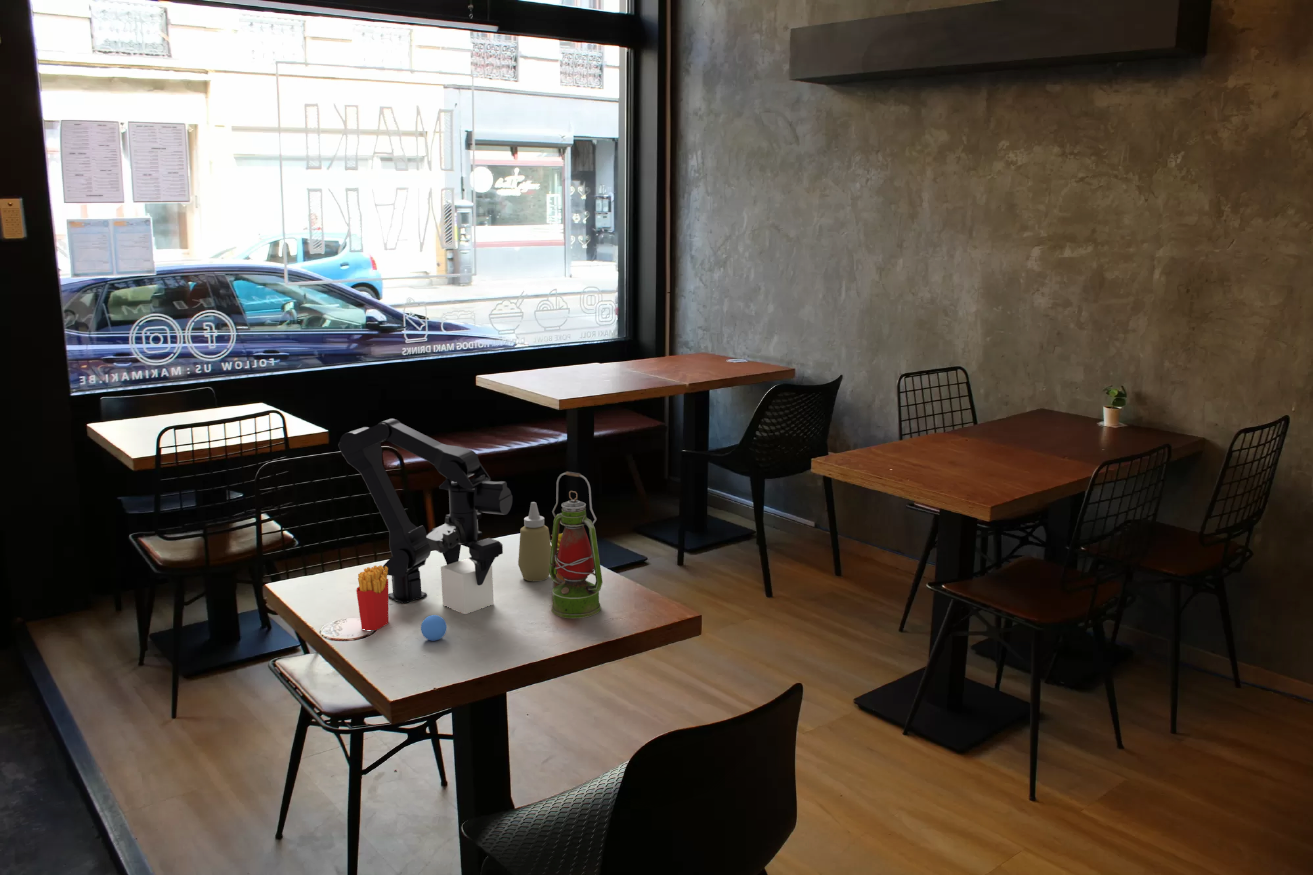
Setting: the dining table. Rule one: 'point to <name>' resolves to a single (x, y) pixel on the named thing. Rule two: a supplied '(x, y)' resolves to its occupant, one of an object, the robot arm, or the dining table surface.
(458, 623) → the dining table surface
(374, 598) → the french fries
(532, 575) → the squeeze bottle
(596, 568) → the lantern
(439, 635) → the ball
